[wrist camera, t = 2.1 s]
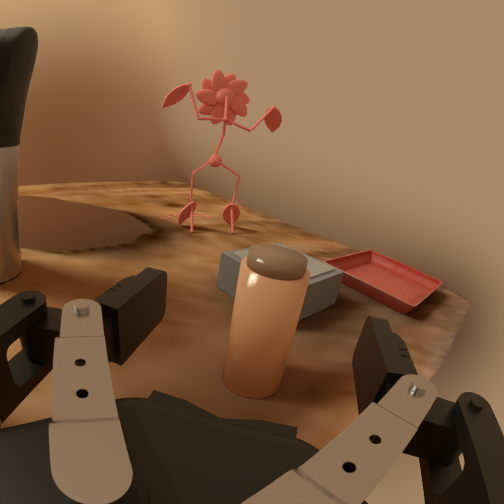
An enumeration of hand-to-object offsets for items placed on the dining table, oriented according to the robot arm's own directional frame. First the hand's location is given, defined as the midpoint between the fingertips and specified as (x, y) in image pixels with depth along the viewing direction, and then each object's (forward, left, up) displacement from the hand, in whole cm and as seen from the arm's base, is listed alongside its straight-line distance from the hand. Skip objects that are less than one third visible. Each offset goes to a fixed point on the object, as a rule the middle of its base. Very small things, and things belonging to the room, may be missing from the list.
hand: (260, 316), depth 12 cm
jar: (-7, +9, -13) cm, 18 cm away
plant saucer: (-9, +45, -14) cm, 48 cm away
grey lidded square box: (-17, +24, -13) cm, 32 cm away
